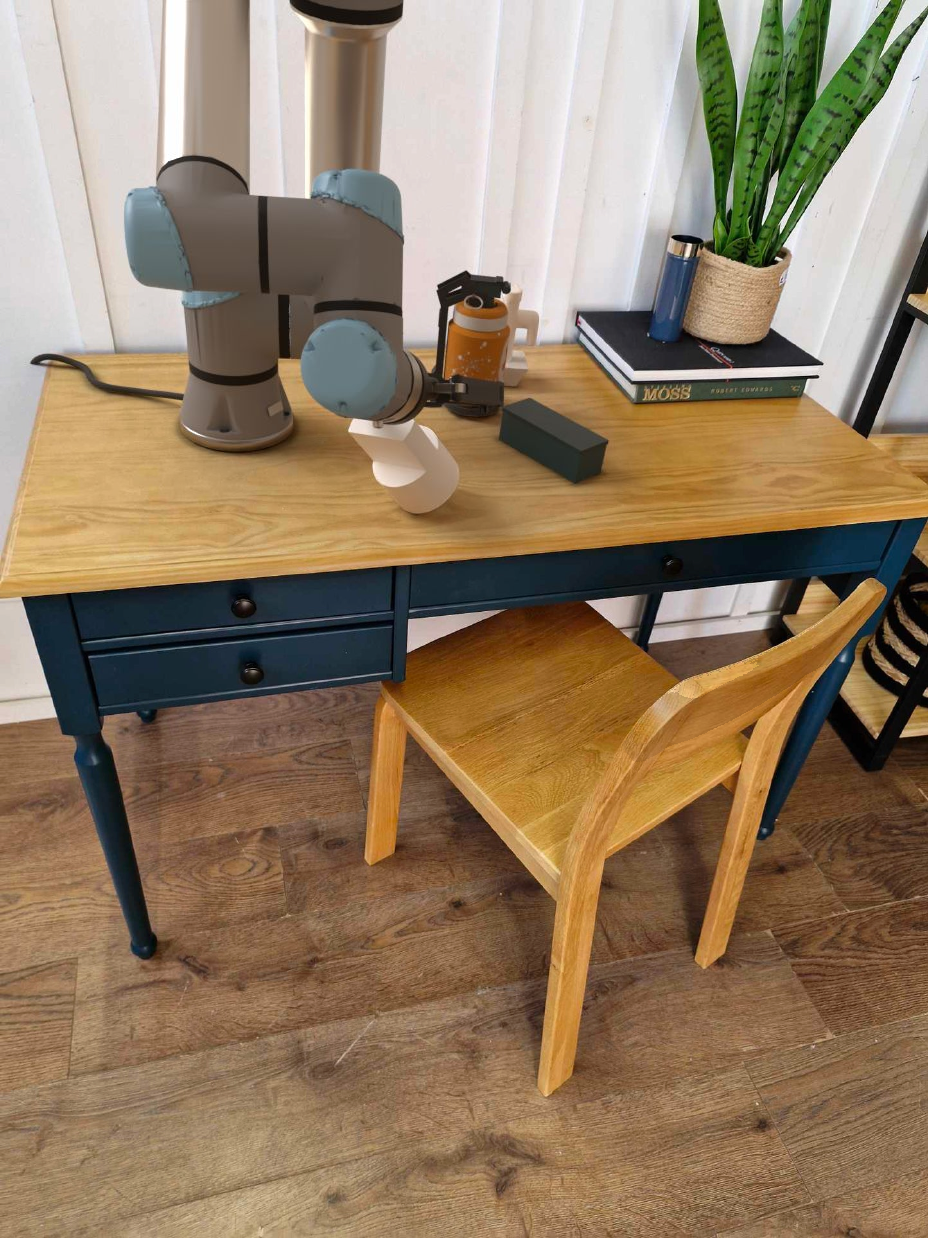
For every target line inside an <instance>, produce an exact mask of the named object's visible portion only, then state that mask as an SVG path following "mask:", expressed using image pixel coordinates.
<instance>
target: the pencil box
mask: <svg viewBox="0 0 928 1238" xmlns="http://www.w3.org/2000/svg"><path fill="white" fill-rule="evenodd" d="M498 440H500V441H502V442H503V443H505V444H507V445H508V446H511V447H512V448H514V449H515V450H517V451H518V452H520V453H522V454H524V455H526V457H527V456H528V457H529V458H531V459H532V460H534V461H535V462H537V463H538V464H540V465H542V466H544V467H546V468H547V469H548V470H550V471H553V472H554V473H556V474H558V475H559V476H561V477H563V478H565V479H566V480H568V481H569V482H571V483H573V484H577V483H579V482H582V481H584V480H587V479H589V478H591V477H594V476H596V475H598V474H601V473H602V470H603V465H604V460H605V455H606V450H607V446H608V445H609V442H610V440H609V439H608V438H605V437H604V436H602V435H600V434H598V433H596V432H595V431H593V430H591V429H589V428H587V427H586V426H583V425H582V424H580V423H578V422H576V421H574V420H572V419H570V418H568V417H567V416H565V415H562V414H561V413H559V412H558V411H555V410H553V409H551V408H550V407H548V406H546V405H544V404H542V403H540V402H539V401H537V400H535V399H533V398H531V397H527V398H524V399H521V400H518V401H515V402H512V403H509V404H506V405H504V406H503V407H501V420H500V427H499V435H498Z"/></svg>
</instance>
